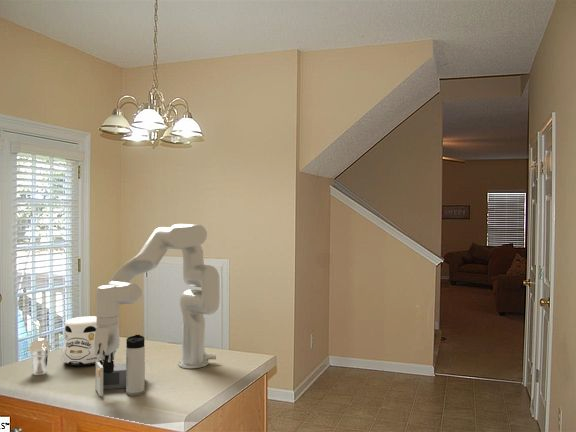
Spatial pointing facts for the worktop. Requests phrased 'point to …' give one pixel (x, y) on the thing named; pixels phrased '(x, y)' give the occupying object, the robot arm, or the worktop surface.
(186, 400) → the worktop surface
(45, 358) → the cup with straw
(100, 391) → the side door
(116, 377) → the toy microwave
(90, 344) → the milk container
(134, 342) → the travel mug
